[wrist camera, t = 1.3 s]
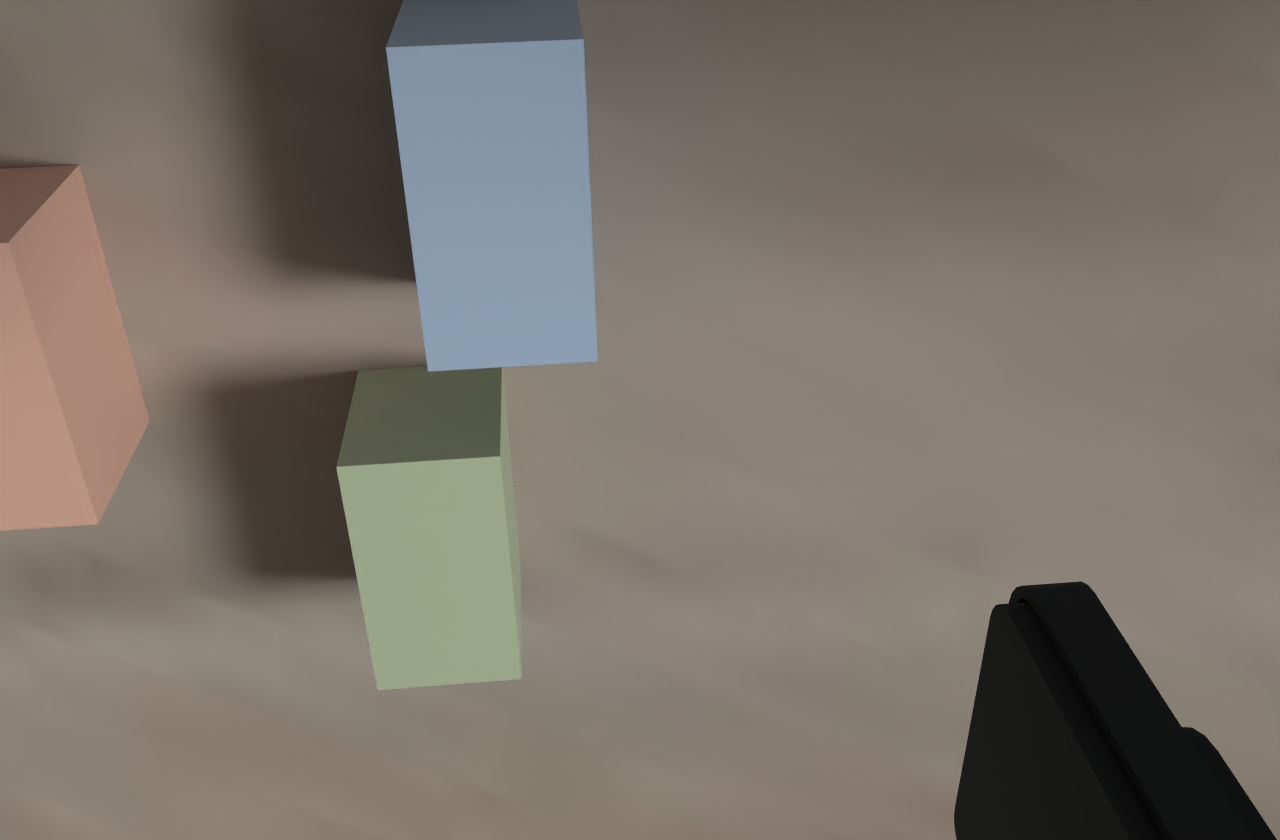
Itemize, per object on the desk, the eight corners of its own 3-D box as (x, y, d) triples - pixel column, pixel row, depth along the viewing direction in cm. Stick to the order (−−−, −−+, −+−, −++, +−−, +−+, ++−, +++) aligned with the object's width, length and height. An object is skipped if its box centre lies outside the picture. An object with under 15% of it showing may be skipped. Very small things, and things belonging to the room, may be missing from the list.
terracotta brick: (80, 163, 24) (8, 242, 20) (150, 418, 27) (98, 524, 23) (-86, 170, 23) (-187, 252, 20) (5, 427, 27) (-70, 535, 23)
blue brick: (573, -13, 23) (583, 39, 19) (586, 273, 26) (597, 361, 22) (405, -6, 22) (385, 47, 19) (439, 281, 26) (427, 371, 22)
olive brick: (502, 359, 27) (500, 456, 23) (520, 566, 30) (521, 679, 27) (359, 367, 27) (336, 466, 23) (393, 575, 30) (377, 690, 26)
